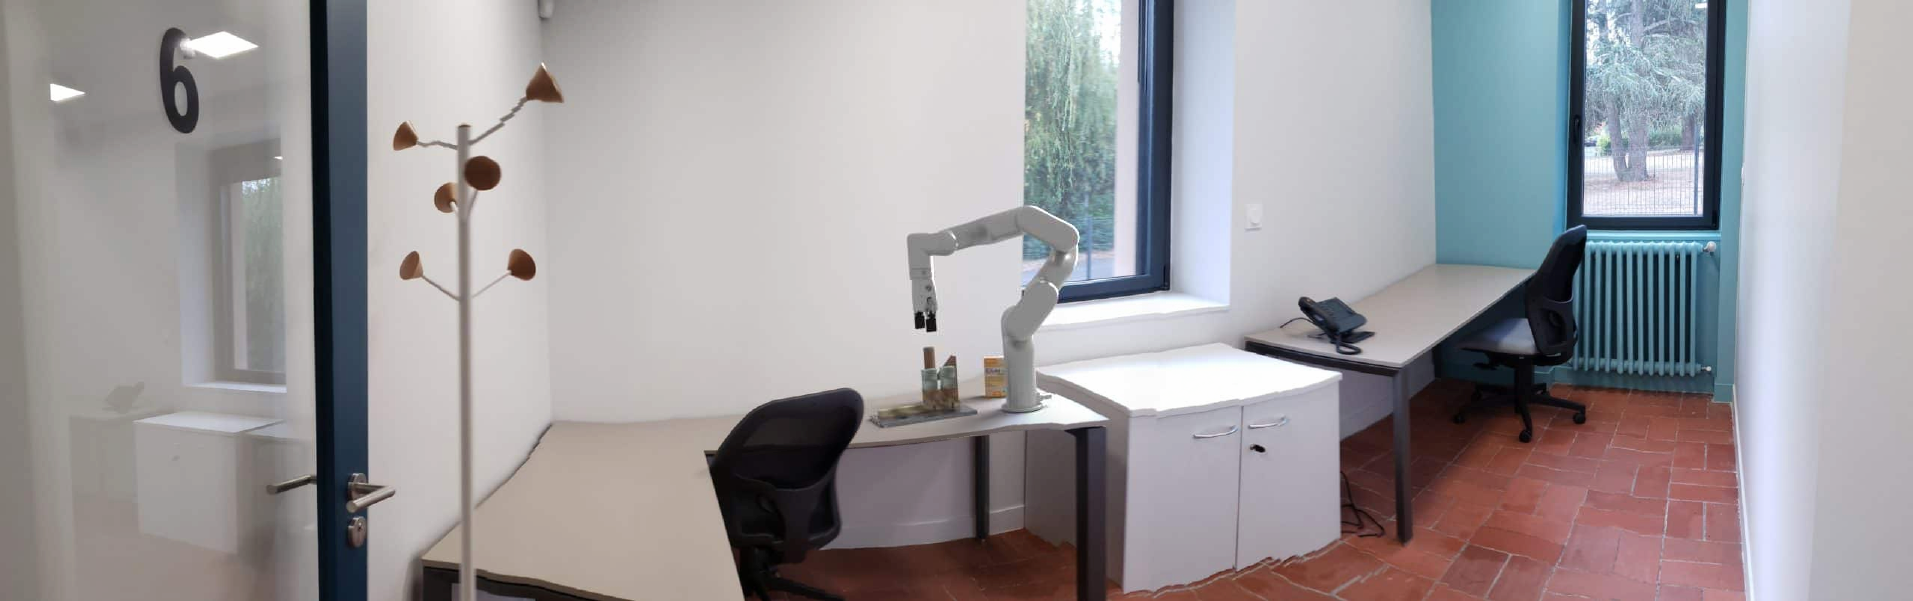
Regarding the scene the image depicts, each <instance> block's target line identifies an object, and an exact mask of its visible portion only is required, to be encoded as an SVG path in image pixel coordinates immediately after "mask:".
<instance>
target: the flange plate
mask: <svg viewBox="0 0 1913 601" xmlns="http://www.w3.org/2000/svg"><path fill="white" fill-rule="evenodd" d="M970 414H971V415H977V414H978V409H975V408H974V407H971V406H968V405H967V404H964V403H963V402H960V406H959V407H954V409H952V408H945V409H938V410H936V411H933V410H931V411H924V412H918V413H911V414H904V415H897V416H890V417H884V418H880V417H878V414H872V415H868V418H869V417H870V418H871V419H872V420H874V421H876V422H877V423H879V424H880V425H881V426H891V427H898V426H903V425H904V424H905V425H910V424H917V423H918V424H919V423H923V422H929V421H930V422H931V421H937V420H943V419H949V418H950V419H951V418H957V417H964V416H970ZM872 420H871V421H872ZM877 423H876V424H877ZM880 425H879V426H880ZM881 426H880V427H881Z"/></svg>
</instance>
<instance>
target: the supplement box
mask: <svg viewBox="0 0 1913 601" xmlns="http://www.w3.org/2000/svg"><path fill="white" fill-rule="evenodd" d="M983 370H984V371H983V372H984V374H983V375H984V392H985V398H1006V391H1005V374H1004V355H984V357H983Z"/></svg>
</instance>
